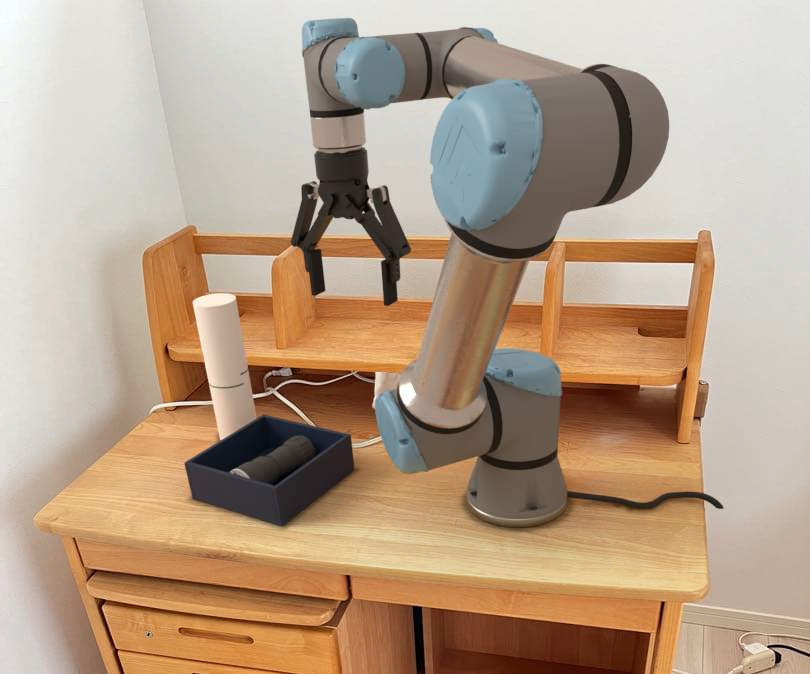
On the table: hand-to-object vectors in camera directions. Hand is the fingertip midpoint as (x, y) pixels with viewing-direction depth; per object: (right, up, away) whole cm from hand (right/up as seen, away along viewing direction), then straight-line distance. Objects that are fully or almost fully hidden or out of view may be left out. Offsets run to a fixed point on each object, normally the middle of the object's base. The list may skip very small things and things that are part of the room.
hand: (353, 298), depth 127 cm
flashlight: (-13, -28, +7) cm, 32 cm away
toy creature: (+6, -17, +23) cm, 29 cm away
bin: (-13, -28, +7) cm, 32 cm away
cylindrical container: (-22, -19, +23) cm, 37 cm away
